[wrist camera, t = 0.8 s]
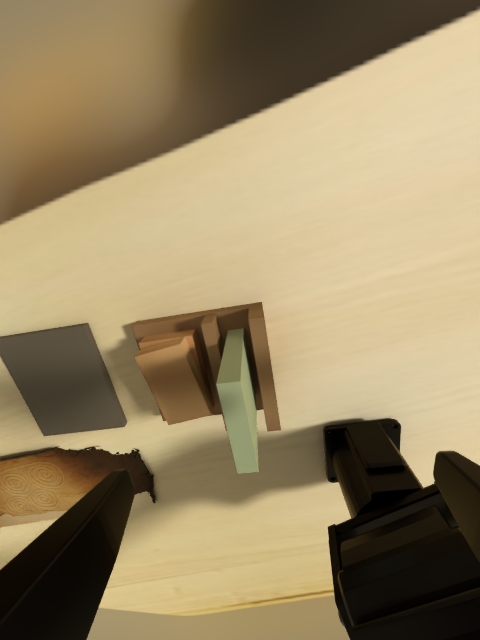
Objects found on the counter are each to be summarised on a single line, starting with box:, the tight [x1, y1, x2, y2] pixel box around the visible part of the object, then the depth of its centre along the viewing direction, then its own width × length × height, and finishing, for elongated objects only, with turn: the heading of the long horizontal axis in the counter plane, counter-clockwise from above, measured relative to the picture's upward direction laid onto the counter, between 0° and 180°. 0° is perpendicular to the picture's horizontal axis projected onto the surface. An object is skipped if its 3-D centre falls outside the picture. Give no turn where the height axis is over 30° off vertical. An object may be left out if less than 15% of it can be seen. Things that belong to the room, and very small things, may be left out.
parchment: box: [0, 446, 156, 527], centre depth 27 cm, size 25×10×1 cm, turn 105°
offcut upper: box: [134, 337, 213, 425], centre depth 18 cm, size 6×3×1 cm, turn 18°
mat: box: [0, 323, 127, 436], centre depth 22 cm, size 10×8×1 cm
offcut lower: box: [138, 329, 214, 421], centre depth 20 cm, size 7×4×1 cm, turn 10°
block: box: [216, 328, 258, 474], centre depth 17 cm, size 6×1×7 cm, turn 10°
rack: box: [132, 302, 281, 431], centre depth 19 cm, size 9×10×4 cm
